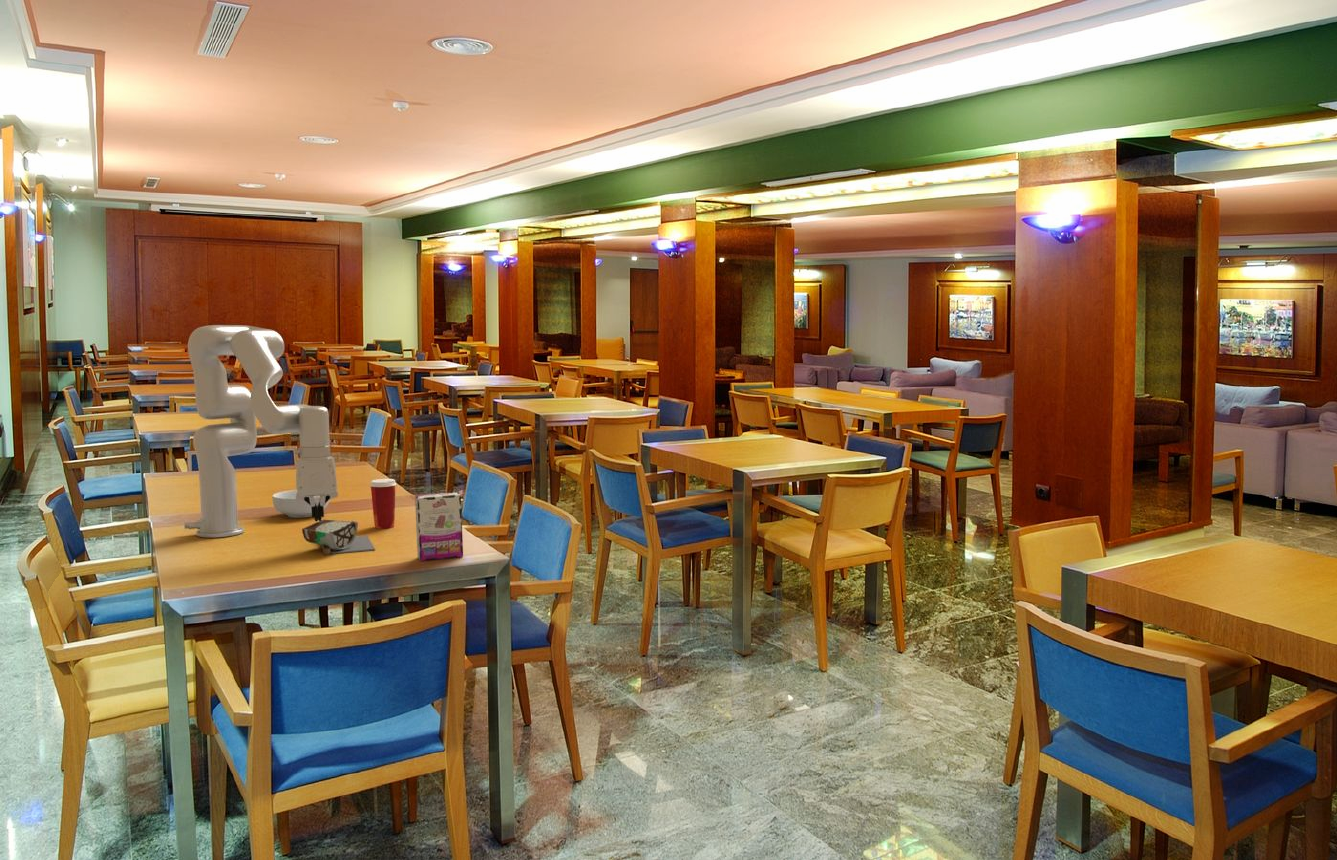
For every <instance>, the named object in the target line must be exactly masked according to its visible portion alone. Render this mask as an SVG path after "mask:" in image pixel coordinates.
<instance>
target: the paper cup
mask: <svg viewBox="0 0 1337 860" xmlns="http://www.w3.org/2000/svg"><path fill="white" fill-rule="evenodd" d="M396 485H397V482H396V480H395V479H393V478H377V479H372V480H371V481H370V484H369V487H370V492H371V503H372V513H373V521H374V522H373V523H374V524H373V525H374V528H375V529H379V530H382V529H385V530H386V529H392V528H394V527H395V519H396V516H395V515H396V513H395V512H396Z"/></svg>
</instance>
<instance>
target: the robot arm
mask: <svg viewBox="0 0 1337 860" xmlns="http://www.w3.org/2000/svg"><path fill="white" fill-rule="evenodd" d="M187 352H188V357H189V359H190V363H191V367H192V371H193V381H194V382H193V383H194V394H195V405H196V411H197V415H199V416H200V418H202V419H204V420H213V421H214V420H223V419H230V420H229V421H230V422H227V423H226V422H225V423H215V424H209V425H208V424H207V425H205V426H202V427H200V428H198V429H197V430H195V433H194V435H193V439H192V445H193V448H194V452H195V453H194V454H195V455H196V460H197V466H198V467H197V468H198V480H199V498H200V519H199V520H197V519H196V521H184V529H187V530H196V529H197V530H196V532H195V534H196V535H195V536H196V537H200V538H205V539H206V538H213V539H214V538H224V537H232V536H237V535H240V534H243V533H244V532H245V527H244V526H242V525H239V516H238V515H239V514H238V513H239V512H238V496H237V495H238V494H237V479H236V478H237V477H236V474H237V473H236V470H235V468H234V465H233V464H232V462H231V461H230V460H229V458H228V457H232V456H239V455H244V454H245V455H246V454H249V453H251V452H252V451H254V449H255V447H256V445H257V442H258V435H257V434H258V431H257V421H258V422H259V424H260V425H261V426H262V428H263V429H264V430H265V431H266V432H268V433H270V434H272V435H284V434H292V433H293V434H294V433H299V447H298V448H294V449H293V450H294V453H293V454H294V455H299V457H298V458H297V461H296V471H295V472H296V473H295V474H296V475H295V483H296V484H295V487H296V489H295V490H297V493H296V499H297V500H301V501H306V502H307V503H308V504H309V505H311V509H312V516H311V518H312V519H314V521H315V522H319V521H321V520H322V518H324V517H325V514H324V513H325V511H324V510H325V509H324V507H323V506H324V505H325V503H326V502H327V501H328V500H329V501H330V500H332V499H335V498H338V497H339V493H338V481H337V480H338V479H337V469H336V463H335V459H334V457H333V456H331V445H330V444H331V443H330V442H331V441H330V440H331V439H330V438H331V437H330V416H329V409H328V408H327V407H325V406H322V405H321V406H320V405H308V404H306V403H305V404H303V403H298V404H285V405H284V404H283V405H276V404H275V402H274V401H273V399H272V398H271V396H270V394H269V391H268V390H269V389H271V388H272V387H274V386H275V385H276V384H278V383H279V382H280V380H281V379H282V377H283V375H284V372H283V371H284V370H283V368H282V367H281V366H280V364H279V362H278V360H277V359H279V358H281V357H282V356H283V354H284V352H285V342H284V340H283V338H282V336H281V335H280V333H278V332H277V331H276V330H273V329H270V328H269V329H268V328H263V327H258V326H252V325H245V324H244V325H243V324H242V325H241V324H240V325H239V324H237V325H235V324H234V325H232V324H225V325H224V324H213V325H204V326H200V327H197V328H196V329H194V330H193V331H192V332H191V334H190V336H189V338H188V342H187ZM218 356H235V358H236V359H237V362H239V364H240V366H241V367H242V369H243V370H244V372H245V374H246V375H247V376H248V379H249V380H250V381H251V383H252V387H251V391H250V390H249V388H247V387H246V386H244V385H240V384H232V385H231V384H228V376H227V375H228V374H227V369H226V367H225V365H224V363H223V362H222V361H221V359H219V358H218ZM256 419H257V420H256ZM319 495H320V501H319V503H318V505H317V506H316V503H315V500H314V496H319ZM308 496H309V497H308ZM317 507H318V508H317Z"/></svg>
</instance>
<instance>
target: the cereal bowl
mask: <svg viewBox="0 0 1337 860" xmlns="http://www.w3.org/2000/svg"><path fill="white" fill-rule="evenodd" d="M296 493H297V489H292V490H285V491H279V492H276V493H274V494H273V495H272V498H271V499H272V504H273V507H274V509H275V510H276V511H277V512H279V513H280V514H283V515H287V516H288V517H289V518H295V519H296V518H297V519H301V518H309V517H311V518H312V509H311V505H309V504H308V503H307V502H306V501H301V500H297V499H296ZM308 497H309V496H308ZM314 500H315V503H316V506H317V505H318V503H319V501H320V495H319V496H314ZM329 503H330V499H329V500H328V501H327V502H326V503H325V505H324V506H323V507H324V510H325V509H326V508H327V507H328V506H329ZM317 508H318V507H317Z"/></svg>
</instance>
